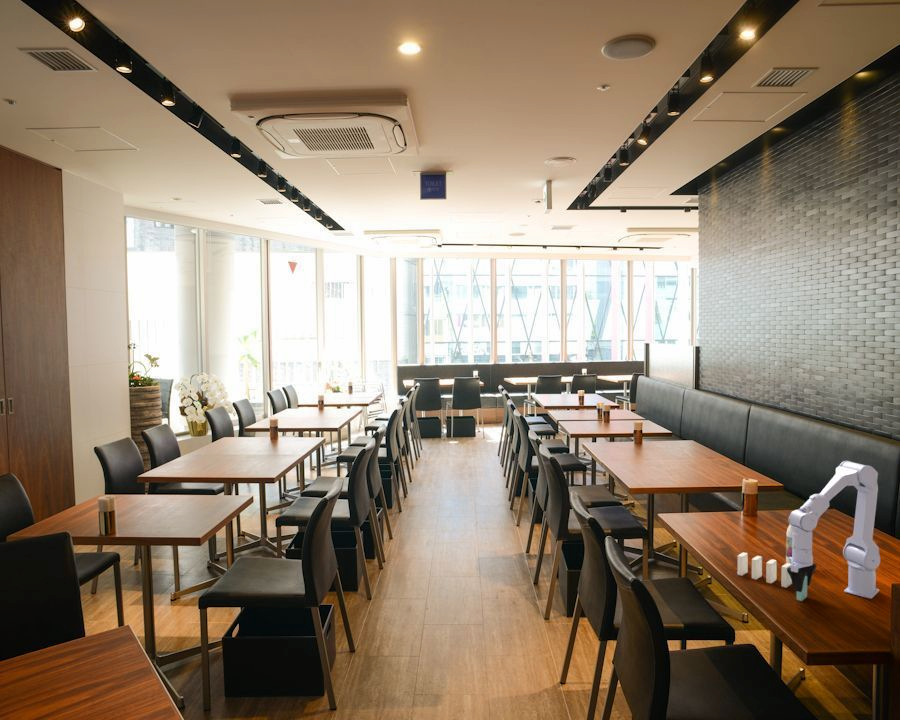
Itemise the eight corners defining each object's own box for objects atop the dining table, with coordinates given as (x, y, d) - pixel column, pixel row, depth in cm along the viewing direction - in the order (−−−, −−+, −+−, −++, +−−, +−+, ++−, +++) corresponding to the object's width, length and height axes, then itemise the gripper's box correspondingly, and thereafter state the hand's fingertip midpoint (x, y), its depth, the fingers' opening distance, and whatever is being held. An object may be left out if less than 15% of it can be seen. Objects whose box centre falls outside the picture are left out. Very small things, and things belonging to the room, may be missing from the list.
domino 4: (786, 582, 217) (786, 562, 217) (791, 583, 216) (791, 564, 216) (781, 586, 214) (781, 566, 214) (786, 587, 213) (786, 567, 212)
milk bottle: (805, 561, 237) (806, 510, 236) (811, 568, 230) (812, 515, 229) (783, 559, 239) (784, 508, 238) (788, 566, 232) (789, 514, 231)
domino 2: (757, 574, 225) (757, 555, 224) (761, 575, 223) (761, 556, 223) (751, 578, 221) (751, 559, 221) (756, 579, 220) (756, 560, 220)
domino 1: (743, 570, 228) (743, 552, 228) (747, 572, 227) (747, 553, 227) (737, 574, 225) (737, 555, 225) (741, 575, 224) (742, 556, 224)
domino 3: (771, 578, 221) (771, 559, 221) (776, 579, 220) (776, 560, 220) (766, 582, 218) (766, 562, 217) (771, 583, 216) (771, 563, 216)
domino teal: (801, 595, 206) (802, 574, 206) (807, 596, 205) (807, 576, 205) (796, 599, 203) (796, 578, 203) (801, 601, 202) (801, 580, 202)
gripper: (797, 539, 211) (796, 578, 212) (780, 549, 202) (780, 590, 202) (819, 544, 206) (819, 584, 207) (804, 554, 196) (804, 596, 197)
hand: (801, 587), depth 204 cm, fingers open, 7 cm apart
